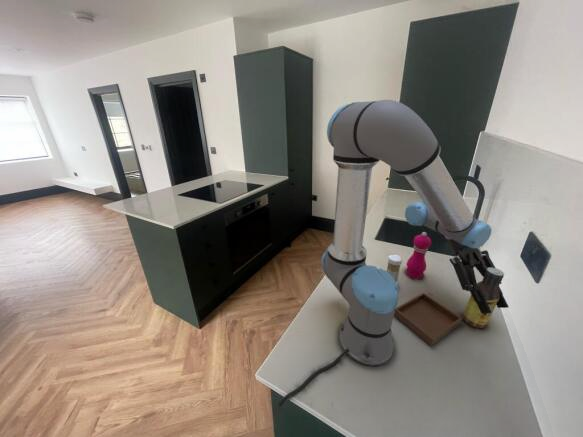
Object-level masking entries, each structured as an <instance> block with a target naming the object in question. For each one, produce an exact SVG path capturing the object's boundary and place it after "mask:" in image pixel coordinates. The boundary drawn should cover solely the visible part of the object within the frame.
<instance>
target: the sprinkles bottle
mask: <svg viewBox="0 0 583 437" xmlns="http://www.w3.org/2000/svg"><path fill="white" fill-rule="evenodd" d="M402 262H403V258H402V257H401V256H399V255H397V254H390V255H389V256H388V258H387V267H386V270H385V271H386V272H388V273H389V274H390V275H391V276H392V277H393V278H394V279H395V281H396V283H397V282H398V281H399V280H398V279H399V275H400V270H401V265H402ZM397 284H398V283H397Z"/></svg>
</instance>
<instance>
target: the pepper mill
mask: <svg viewBox="0 0 583 437" xmlns="http://www.w3.org/2000/svg"><path fill="white" fill-rule="evenodd" d="M431 245H432V240H431V238H430V237H429V236H428V233H427V232H426V231H422V233H421V234H418V235H415V236H414V238H413V253H412V255H411V256H410V257H409V258H408V260H407V261H406V270H405V273H406V275H407V276H408V277H410V278H411V279H414V280H415V279H416V280H419V279H422V278H423V277H424V272H425V271H426V270H427V262H426V258H425V257H426V253H428V251H429V247H430V246H431Z"/></svg>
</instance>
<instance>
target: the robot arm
mask: <svg viewBox="0 0 583 437" xmlns="http://www.w3.org/2000/svg"><path fill="white" fill-rule="evenodd" d="M326 137H327V141H328V142H329V144H330V145H331V147H332V148H333V152H332V153H333V154H332V155H333V156H332V161H333V163H334V164H336V166H337V168H338V169H337V184H336V199H335V212H334V213H335V215H334V227H333V228H334V229H333V242H331V243H330V244H329V245H328V248H326V250H325V252H324V253H322V256H321V261H320V262H321V263H320V265H321V268H322V271H323V273H324V275H325V276H326V278H327V279H328V280H329V281H330V282H331V283H332V285H333V286H334V287H335V288H336V289H337V291H338V292H339V293H340V294H341V296H342V297H343V299H344V300H345V301H346V303H347V304H348V313H347V317H346V318H345V319H344V321H343V323H342V324H341V327H340V329H339V343H340V346H341V348H342V349H343V351H342V353H340V355H338V356H337V357H336V359H335V360H333V361H332V362H331V363H329V364H328V365H325V366H323V367H321V368H318V369H317V370H316V371H314V372H313V373H312V374H310V376H308V378H307V379H306V380H305V381H304V382H303V383H302V384H301V385H300V386H298V387H297V388H296V389H294V390H292V391H290V392H289V393H287V394H285V395H284V396H283V397H282V399H281V400H280V401H279V402H278V407H281V406H283V404H284V403H285V402H286V401H287V400H288V399H289V398H290V397H293V396H294V395H296V394H297V393H299V392H301V391H302V390H303V389H304V388H305V387H306V386H307V385H308V384H309V383H310V381H312V379H314V378H315V377H316V376H318V375H319V374H320V373H322V372H324V371H327V370H329V369H331V368H332V367H333V366H335V365H336V364H337V363H338V362H339V361H340V360H342V358H343V357H344V356H345V355H348V356H349V357H350V358H351V359H352V360H354V361H355V362H357V363H359V364H362V365H365V366H371V367H377V366H381V365H385V364H386V363H388V362H389V360H391V358H392V356H393V353H394V348H395V343H394V337H393V334H392V324H393V320H394V317H395V316H394V313H395V309H396V308H397V307H398V306H397V305H398V300H399V285H398V283H396V281H395V279H394V278H393V277H392V276H391V275H390V274H389V273H388V272H386V271H387V270H385V269H383V268H381V267H380V268H378V267H377V266H375V265H367V263H366V261H367V253H368V252H367V248H366V247H365V246H364V245H363V243H364V235H365V228H366V227H365V226H366V220H367V213H368V212H367V211H368V204H369V197H370V196H369V195H370V188H371V179H372V173H373V172H372V171H373V168H374V167H375V166H376V165H377V164H379V163H380V162H383V163H385V164H386V165H388V166H389V167H390V168H391V169H392V170H393V171H394V173H396V174H397V175H398V176H403V177H404V178H405V179H406V180H407V181H408V183H409V185H410V186H411V187H412V188H413V189H414V191H415V193H417V195H418V196H419V198H420V199H421V200H422V201H417V202H412V203H410V204H408V205H407V206H406V208H405V211H404V217H405V220H406V222H407V223H408V224H409V225H411V226H414V227H415V226H418V227H421V226H424V227H426V228H429V229H430V230H432V231H435V232H437V233H439V234H441V235H442V236H444V238H445V239H446V240H447V244H448V246H449V249H450V250H451V251H452V252H454V257H451V258H449V259H448V260H449V262H450V264H451V265H452V267H453V269H454V271H455V275H456V276H457V279H458V282H459V284H460V287H461V289H462V290H463V291H465V292H469V293H470V296H471V295H472V297H473V299H474V301H475V302H476V303H477V305H478V307H479V310H480V312H481V313H492V312H491V310H490V307H489V305H488V303H487V301H486V299H485V297H484V295H483V293H482V291H481V290H478V287H477V283H478V282H477V278H476V273H475V270H474V268H476V270H477V271H478V273H479V274H480V275H481V276H482V278H484V276H485V274H486V273H485V272H486V269H487V268H489V267H492V268H496V266H495V264H494V262H493V261H492V259H491V256H490V254H489V251H488V249H487V250H486V249H485V250H480V249H479V248H481V247H482V246H484V245H485V244H486V243H487V242H488V240H489V239H490V237H491V235H492V226H491V225H490V224H488V223H486V222H484V221H483V220H479V219H477V218H476V217H475V216H474V214H473V213H472V212H471V209H470V207H469V206H468V204H467V202H466V200H465V199H464V197H463V195H462V194H461V191H460V190H459V188H458V187H457V185H456V182H454V180H453V177H452V176H451V174H450V172H449V171H448V169H447V167H446V166H445V164H444V162H443V160H442V158H441V157H440V153H441V145H440V143H439V141H438V140H437V138H436V136H435V135H434V133H433V131H432V130H431V128H430V127H429V126H428V125H427V123H426V122H425V121H424V120H423V119H422V117H420V115H418V114H417V112H415V111H414V110H413V109H412V108H410V107H409V106H407V105H405V104H404V103H402V102H400V101H397V100H393V99H380V100H373V101H372V100H371V101H355V102H353V101H352V102H351V103H346V104H344V105H342V106H341V107H340V106H339V108H337V109H336V110H335V112H334V113H332V115H331V117H330V118H329V120H328V123H327V127H326ZM502 281H503V278H502V279H501V281H500V284H499V285H502V283H503V282H502ZM496 308H498V309H505V308H506V309H507V308H510V307H509V304H508V302H507V300H506V298H505V297H504V293H503V291H502V289H501V287H500V286H499V300H498V302H497V304H496ZM492 314H493V313H492Z"/></svg>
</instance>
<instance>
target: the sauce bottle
mask: <svg viewBox="0 0 583 437" xmlns="http://www.w3.org/2000/svg"><path fill="white" fill-rule="evenodd" d="M485 273H486V274H485V276H484V277H482V280H481V281H478V282H477V287H478V290H481V291H482V293H483V295H484V297H485V299H486V301H487V303H488V305H489V307H490V310H491V312H492V313H481V312H480V310H479V307H478V305H477V303H476V302H475V301H474V299H473V297H472V295H471V294H470V296H469V299H468V301H467V303H466V306H465V308H464V311H463V315H462V319H463V320H464V321H465V322H466V323H467V324H468V325H470V326H471V327H474V328H476V329H484V328H485V327H486V325H488V323H489V321H490V319H491V316H492V315H493V313H494V310H495V308H496V307H497V305H496V304H497V302H498V300H499V287H500V285H501V284H500V281H501V279H502V280H503V279H504V276H505V273H504V272H503V271H502V269H498V268H496V267H495V268H492V267H489V268H487V269H486V272H485ZM501 282H502V281H501Z"/></svg>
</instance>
